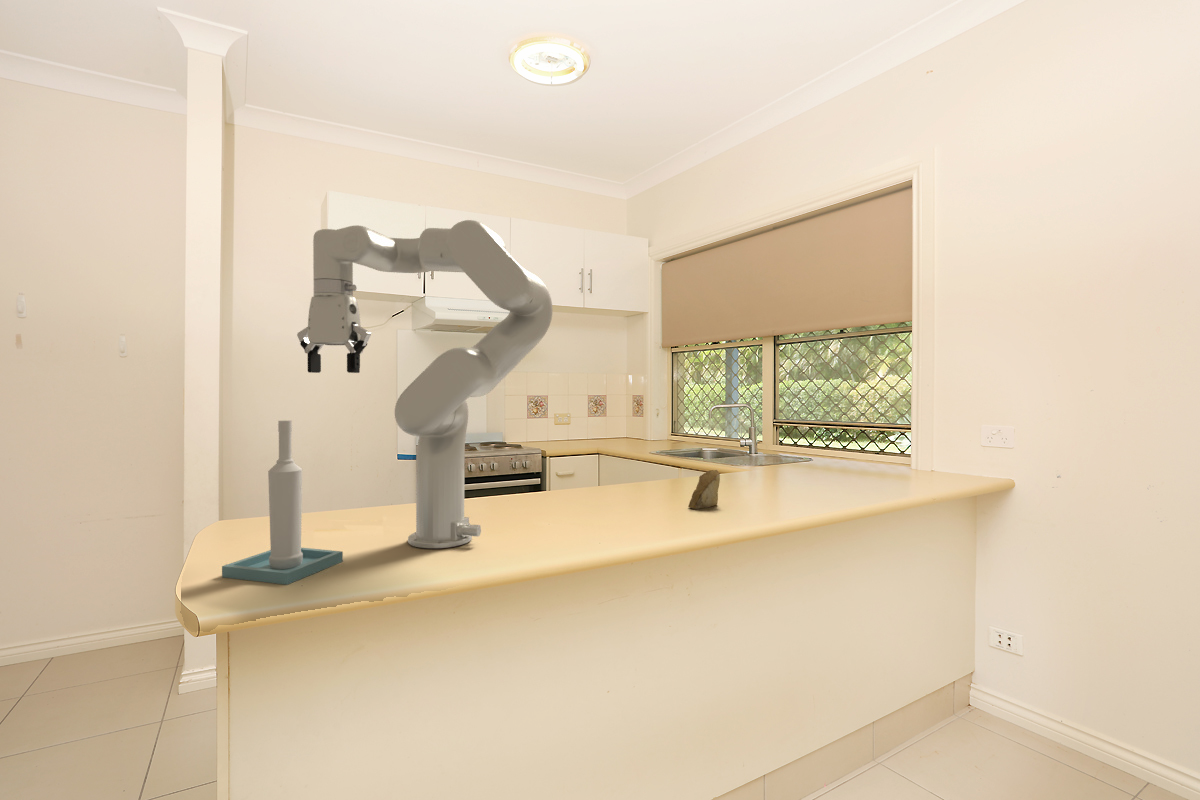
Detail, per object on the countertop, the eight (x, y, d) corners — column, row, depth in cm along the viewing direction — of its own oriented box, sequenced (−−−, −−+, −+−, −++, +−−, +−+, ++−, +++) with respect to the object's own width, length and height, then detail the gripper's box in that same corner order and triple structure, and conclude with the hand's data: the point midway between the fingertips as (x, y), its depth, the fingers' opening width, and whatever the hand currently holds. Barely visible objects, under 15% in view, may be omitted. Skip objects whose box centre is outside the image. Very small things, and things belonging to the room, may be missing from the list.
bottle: (268, 571, 99) (267, 421, 99) (269, 563, 104) (268, 420, 103) (303, 567, 102) (302, 421, 101) (302, 559, 106) (301, 419, 106)
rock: (695, 503, 151) (730, 496, 154) (683, 474, 156) (717, 467, 159) (684, 520, 160) (717, 513, 163) (673, 492, 164) (705, 486, 167)
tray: (342, 561, 107) (342, 551, 107) (287, 584, 95) (287, 573, 95) (283, 555, 111) (283, 545, 111) (222, 577, 98) (221, 566, 98)
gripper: (380, 292, 126) (380, 373, 126) (311, 294, 131) (312, 372, 131) (357, 286, 119) (357, 372, 119) (285, 289, 123) (285, 372, 124)
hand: (333, 372), depth 125 cm, fingers open, 9 cm apart
